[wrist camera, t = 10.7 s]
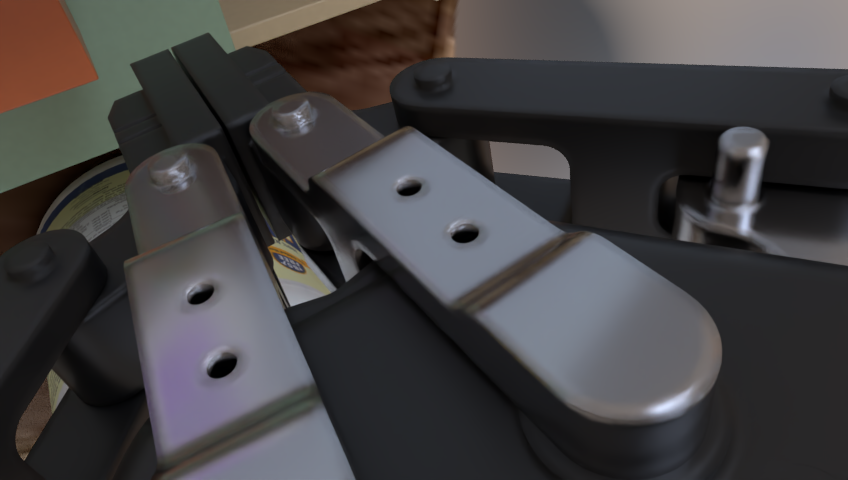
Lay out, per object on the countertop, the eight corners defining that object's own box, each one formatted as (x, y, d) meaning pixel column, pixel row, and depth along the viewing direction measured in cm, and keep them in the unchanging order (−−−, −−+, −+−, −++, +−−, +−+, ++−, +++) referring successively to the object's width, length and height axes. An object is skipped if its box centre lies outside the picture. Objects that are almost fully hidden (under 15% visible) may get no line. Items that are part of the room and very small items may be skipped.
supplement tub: (306, 243, 41) (446, 449, 29) (137, 363, 40) (213, 630, 28) (187, 89, 32) (319, 297, 21) (-35, 236, 31) (-29, 549, 19)
